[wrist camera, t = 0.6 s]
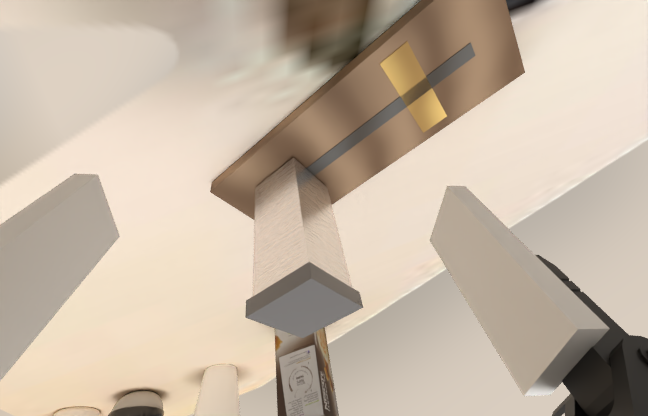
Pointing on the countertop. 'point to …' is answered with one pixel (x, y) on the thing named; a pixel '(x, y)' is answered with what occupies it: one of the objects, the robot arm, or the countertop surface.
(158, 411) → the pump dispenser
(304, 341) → the coffee box
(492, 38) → the rail board
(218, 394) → the foam cup
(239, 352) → the countertop surface
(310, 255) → the silver square canister
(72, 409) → the alcohol
